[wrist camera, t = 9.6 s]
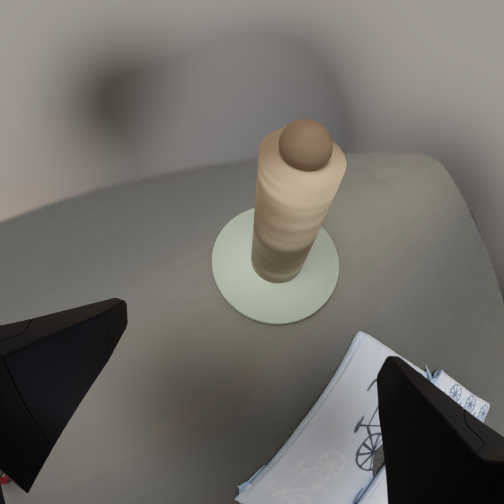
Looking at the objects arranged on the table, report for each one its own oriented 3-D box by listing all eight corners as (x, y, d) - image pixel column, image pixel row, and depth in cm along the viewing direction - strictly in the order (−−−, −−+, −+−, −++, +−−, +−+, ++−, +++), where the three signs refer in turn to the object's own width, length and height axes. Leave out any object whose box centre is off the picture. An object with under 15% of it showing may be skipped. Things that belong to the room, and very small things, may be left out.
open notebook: (391, 551, 11) (400, 558, 9) (227, 491, 16) (225, 500, 14) (484, 405, 18) (496, 404, 17) (357, 317, 23) (367, 311, 21)
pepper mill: (312, 268, 24) (375, 144, 11) (267, 292, 22) (299, 171, 10) (285, 228, 25) (317, 93, 13) (241, 249, 24) (243, 110, 12)
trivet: (355, 253, 25) (358, 249, 25) (291, 351, 21) (294, 350, 20) (261, 193, 28) (262, 187, 27) (187, 273, 24) (185, 268, 23)
